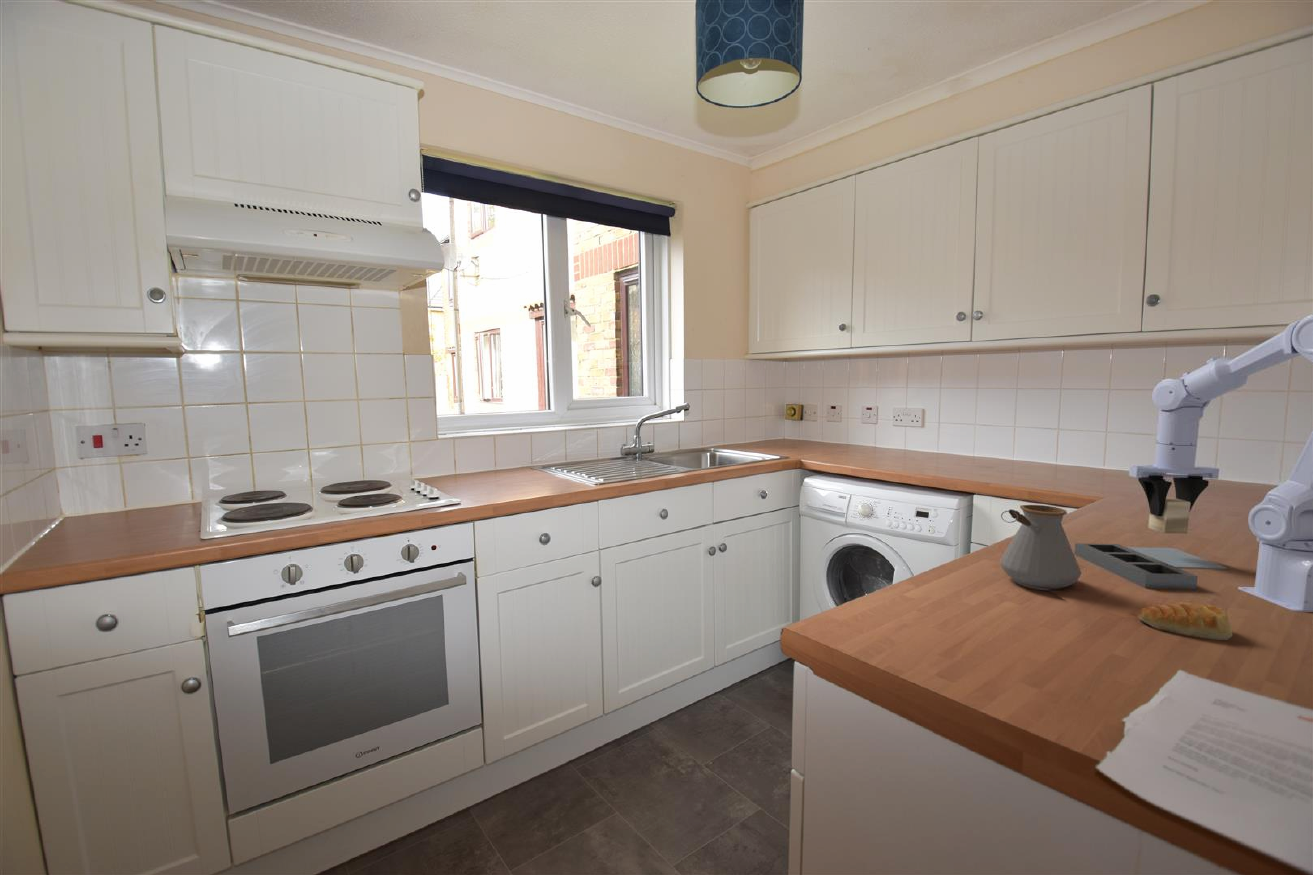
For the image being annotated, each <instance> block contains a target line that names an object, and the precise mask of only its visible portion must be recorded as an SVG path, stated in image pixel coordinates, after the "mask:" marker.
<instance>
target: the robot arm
mask: <svg viewBox="0 0 1313 875" xmlns="http://www.w3.org/2000/svg"><path fill="white" fill-rule="evenodd" d="M1299 356H1302V357H1304V358H1306V359H1307V360H1308V361H1310V362H1311V363H1313V314H1310V315H1308V316H1306V317H1304V318H1303V319H1301V320H1298V321H1296V322H1293V323H1289V324H1288V325H1287V327H1286V328H1285V329H1284V331H1282V332H1280V333H1278V334H1276V335H1274V336H1273V337H1270V338H1269V339H1267V340H1266V341H1264V342H1262V343H1260V344H1259V345H1256V346H1255V347H1252V348H1251V349H1249V350H1247V351H1245V352H1243V353H1242V354H1241V355H1238V356H1237V357H1234V358H1231V357H1230V358H1229V357H1212V358H1210V359H1208V360H1206V364H1205V365H1203V366H1201V367H1199V368H1197V369H1195V370H1194V371H1187V372H1185V373H1183V374H1182V376H1181V377H1179V378H1177V379H1175V378H1165V379H1162V380H1161V381H1160V382H1159V383H1157V384H1156V386H1154V388H1153V390H1152V393H1151V394H1152V396H1151V398H1152V402H1153V405H1154V406H1155V407H1156V408H1157V409H1159V412H1158V420H1157V421H1158V422H1157V430H1156V431H1157V432H1156V439H1155V440H1156V442H1155V444H1156V445H1155V453H1154V463H1153V464H1149V465H1129V471H1128V477H1132V478H1137V479H1138V480H1137V481H1138V482H1139V484H1140V486H1141V487H1142V489H1143V491H1144V493H1145V497H1146V499H1147V502H1148V508H1149V514H1150V513H1151V514H1153V515H1156V516H1162V515H1163V513H1164V508H1165V500H1166V498H1167V497H1168V496H1167V495H1168V493H1169V490H1170V488H1171V486H1172V485H1173V484H1174V491H1175V498H1176V499H1180V500H1184V501H1188V502H1191V503H1190V512H1189V514H1190V513H1191V511H1192V508H1193V506H1194V504H1195V503H1196V501H1197V500H1198V498H1199V496H1200V495H1201V494H1202V493H1203V492H1204V490H1205V489H1206V488H1207V487H1209V482H1210V481H1209V480H1207V479H1212V480H1213V479H1214V480H1215V479H1216V480H1218V479H1219V476H1220V475H1219V474H1220V473H1219V472H1220V468H1217V467H1211V466H1196V457H1197V448H1198V437H1199V427H1200V420H1202V418H1203V417H1204V411H1205V409H1206V408H1207V407H1208V406H1209V405H1210V404H1211V401H1212V400H1214V399H1217V398H1218V397H1221V396H1222V395H1226V394H1228V393H1231V392H1232V391H1235V390H1237V389H1239V388H1241V387H1243V386H1245V385H1246V383H1247V381H1248V378H1249V376H1251V375H1253V374H1255V373H1259V372H1261V371H1263V370H1266V369H1268V368H1269V369H1270V368H1271V367H1274V366H1276V365H1279V364H1281V363H1285V362H1286V361H1289V360H1291V359H1294V358H1296V357H1299ZM1165 478H1172V479H1173V483H1172V481H1167V480H1166V479H1165ZM1247 518H1248V520H1247V521H1248V527H1249V529H1250V531H1251V532H1252V533H1253V535H1254V536H1255V537H1256V542H1259V545H1258V547H1259V548H1258V555H1257V563H1256V573H1255V581H1254V586H1238V587H1237V589H1238V590H1240V591H1242V592H1245V593H1248V594H1250V595H1252V596H1256V597H1257V598H1260V599H1262V600H1265V601H1267V602H1269V603H1272V604H1275V605H1277V606H1280V607H1283V608H1285V609H1286V610H1287V609H1288V610H1291V611H1294V612H1297V613H1298V612H1300V613H1301V612H1302V613H1303V612H1304V613H1313V430H1312V431H1311V433H1310V435H1309V437H1308V438H1307V441H1306V443H1305V445H1304V447H1303V450H1302V451H1301V453H1300V455H1299V457H1298V459H1297V461H1296V463H1295V465H1294V467H1293V469H1292V471H1291V473H1290V474H1289V476H1288V479H1287V480H1286V481H1284V482H1283V483H1281V484H1280V485H1278V486H1276V487H1275V488H1272V489H1271V490H1270V491H1267V493H1266V495H1265V496H1264V498H1263V500H1262V501H1261V502H1259V503H1258V504H1257V505H1255V506H1254V507H1253V508H1251V510H1250V511H1249V513H1248V517H1247Z"/></svg>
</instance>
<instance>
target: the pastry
mask: <svg viewBox="0 0 1313 875" xmlns="http://www.w3.org/2000/svg"><path fill="white" fill-rule="evenodd" d="M1137 617H1138V619H1139V620H1140V621H1142V622H1143V623H1145V624H1146V625H1149V626H1151V628H1155V629H1156V630H1161V631H1166V632H1169V633H1175V634H1178V635H1182V636H1188V637H1189V636H1190V637H1194V638H1201V639H1209V640H1217V641H1228V640H1229V639H1230V638H1232V637H1233V630H1232V625H1231V623H1230V621H1229V619H1228V614H1227V613H1226V612H1225V610H1224V609H1223V608H1221V607H1220V606H1214V605H1211V604H1207V605H1202V604H1196V603H1189V602H1184V601H1183V602H1181V601H1179V602H1174V603H1169V604H1155V605H1152V606H1151V605H1150V606H1144V607H1143V608H1141V609H1140V611H1139V612H1138V616H1137Z"/></svg>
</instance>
